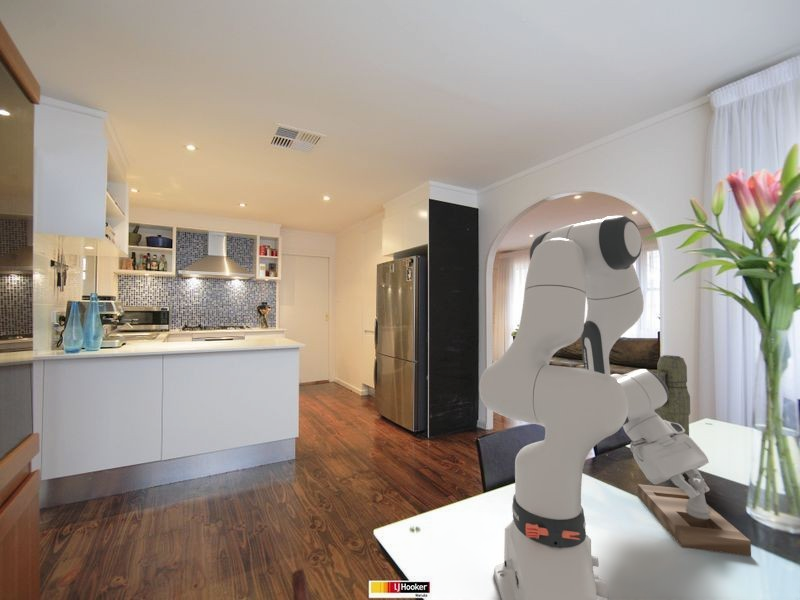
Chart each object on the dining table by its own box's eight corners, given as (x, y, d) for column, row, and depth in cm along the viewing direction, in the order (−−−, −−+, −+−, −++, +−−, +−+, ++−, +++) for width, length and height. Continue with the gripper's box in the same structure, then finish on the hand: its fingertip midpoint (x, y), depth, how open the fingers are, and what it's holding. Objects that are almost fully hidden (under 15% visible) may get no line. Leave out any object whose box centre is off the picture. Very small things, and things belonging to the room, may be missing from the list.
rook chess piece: (716, 521, 77) (715, 483, 78) (693, 519, 78) (692, 481, 78) (702, 510, 82) (701, 474, 82) (680, 508, 82) (679, 472, 83)
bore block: (751, 556, 72) (750, 540, 72) (682, 547, 75) (681, 532, 75) (689, 500, 94) (689, 489, 94) (637, 495, 96) (637, 484, 97)
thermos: (699, 468, 114) (696, 356, 115) (682, 476, 108) (679, 358, 109) (667, 458, 121) (664, 353, 123) (649, 465, 115) (647, 355, 117)
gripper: (636, 436, 82) (687, 500, 73) (684, 423, 91) (734, 478, 82) (617, 449, 86) (663, 511, 77) (664, 435, 95) (711, 490, 86)
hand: (700, 494), depth 79 cm, fingers closed on rook chess piece, 3 cm apart
